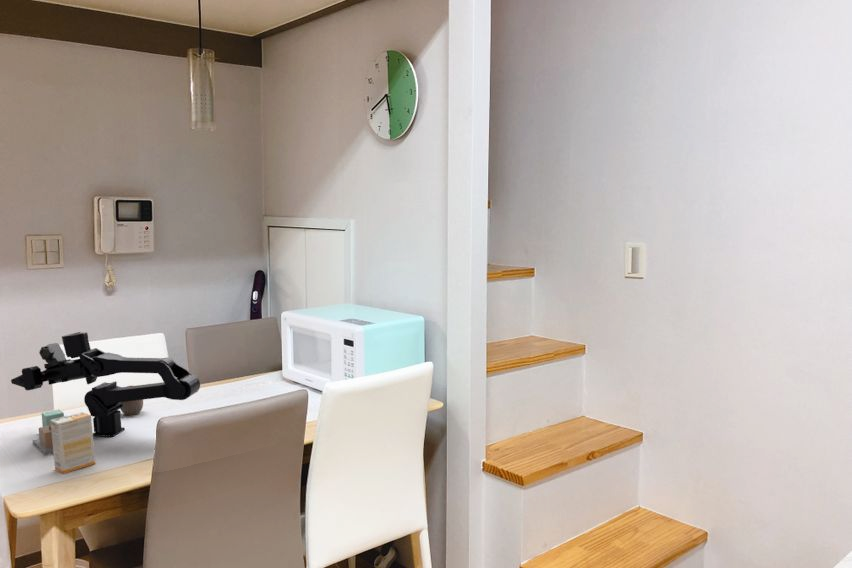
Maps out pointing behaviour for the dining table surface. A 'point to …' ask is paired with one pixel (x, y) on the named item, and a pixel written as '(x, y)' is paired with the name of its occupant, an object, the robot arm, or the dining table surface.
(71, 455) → the supplement box
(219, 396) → the dining table surface
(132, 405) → the vase
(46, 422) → the block
